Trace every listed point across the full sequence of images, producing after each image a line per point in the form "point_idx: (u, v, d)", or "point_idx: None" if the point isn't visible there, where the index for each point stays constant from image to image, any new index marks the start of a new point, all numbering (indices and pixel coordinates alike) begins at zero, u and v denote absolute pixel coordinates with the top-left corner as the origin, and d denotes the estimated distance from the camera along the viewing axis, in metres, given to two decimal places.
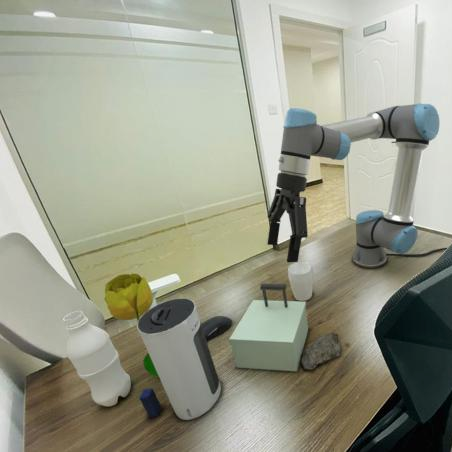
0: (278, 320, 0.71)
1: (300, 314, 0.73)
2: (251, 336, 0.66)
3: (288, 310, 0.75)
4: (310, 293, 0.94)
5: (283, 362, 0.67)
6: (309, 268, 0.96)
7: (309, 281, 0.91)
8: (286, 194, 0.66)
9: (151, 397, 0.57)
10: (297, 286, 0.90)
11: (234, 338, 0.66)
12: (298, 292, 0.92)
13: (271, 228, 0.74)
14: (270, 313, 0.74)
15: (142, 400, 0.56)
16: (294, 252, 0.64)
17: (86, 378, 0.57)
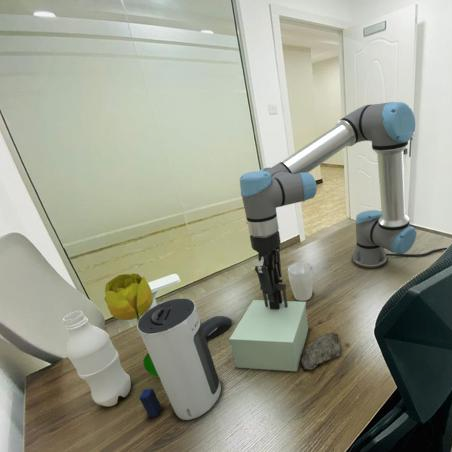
0: (278, 320, 0.71)
1: (300, 314, 0.73)
2: (251, 336, 0.66)
3: (288, 310, 0.75)
4: (310, 293, 0.94)
5: (283, 362, 0.67)
6: (309, 268, 0.96)
7: (309, 281, 0.91)
8: None
9: (151, 397, 0.57)
10: (297, 286, 0.90)
11: (234, 338, 0.66)
12: (298, 292, 0.92)
13: None
14: (270, 313, 0.74)
15: (142, 400, 0.56)
16: (273, 302, 0.74)
17: (86, 378, 0.57)
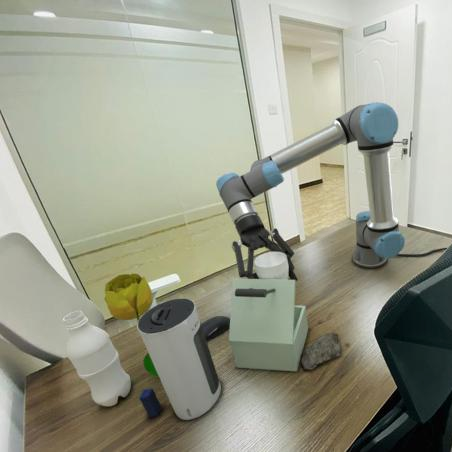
0: (270, 312, 0.65)
1: (292, 302, 0.65)
2: (249, 336, 0.65)
3: (277, 295, 0.66)
4: None
5: (283, 362, 0.67)
6: (284, 260, 0.75)
7: (282, 276, 0.70)
8: None
9: (151, 397, 0.57)
10: None
11: (234, 340, 0.65)
12: None
13: None
14: (259, 301, 0.66)
15: (142, 400, 0.56)
16: None
17: (86, 378, 0.57)
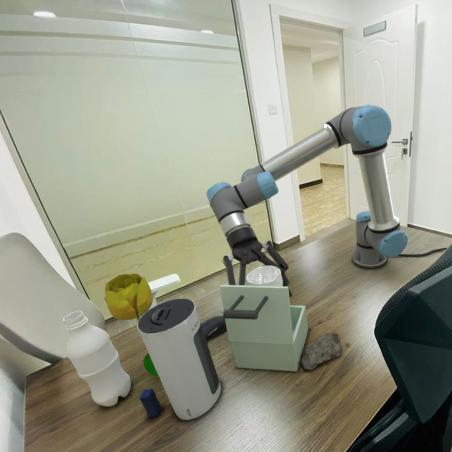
0: (266, 318, 0.62)
1: (287, 309, 0.61)
2: (248, 338, 0.65)
3: (270, 302, 0.61)
4: None
5: (283, 362, 0.67)
6: (278, 274, 0.71)
7: None
8: None
9: (151, 397, 0.57)
10: None
11: (234, 341, 0.65)
12: None
13: None
14: (252, 308, 0.62)
15: (142, 400, 0.56)
16: None
17: (86, 378, 0.57)
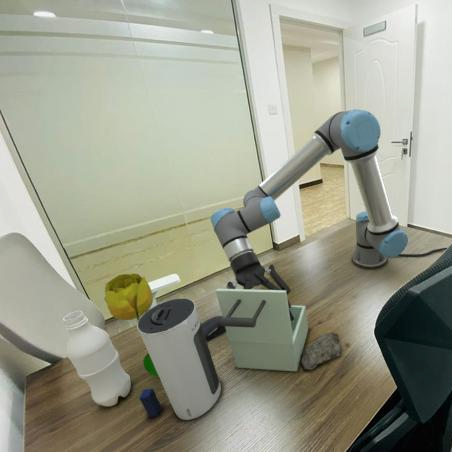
0: (265, 320, 0.62)
1: (286, 312, 0.60)
2: (248, 338, 0.64)
3: (269, 306, 0.60)
4: None
5: (283, 362, 0.67)
6: None
7: None
8: None
9: (151, 397, 0.57)
10: None
11: (234, 341, 0.65)
12: None
13: None
14: (250, 311, 0.61)
15: (142, 400, 0.56)
16: None
17: (86, 378, 0.57)
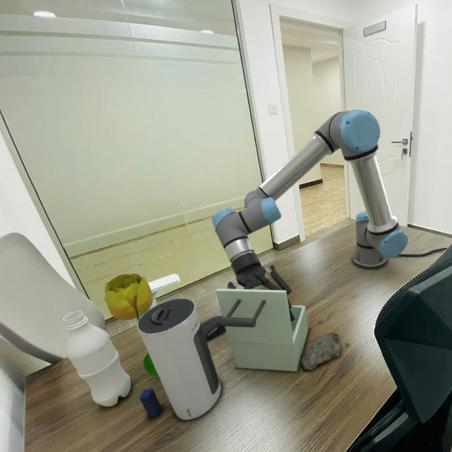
0: (265, 320, 0.62)
1: (286, 312, 0.60)
2: (248, 338, 0.64)
3: (269, 306, 0.60)
4: None
5: (283, 362, 0.67)
6: None
7: None
8: None
9: (151, 397, 0.57)
10: None
11: (234, 341, 0.65)
12: None
13: None
14: (250, 311, 0.61)
15: (142, 400, 0.56)
16: None
17: (86, 378, 0.57)
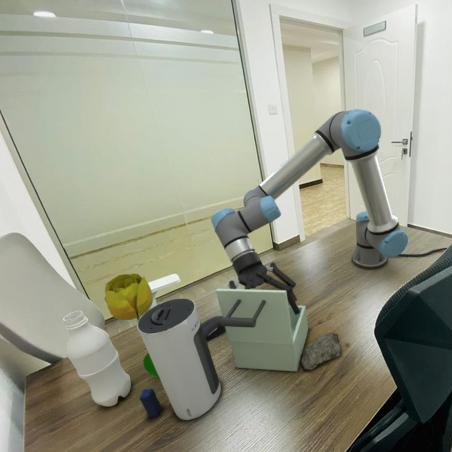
0: (265, 320, 0.62)
1: (286, 312, 0.60)
2: (248, 338, 0.64)
3: (269, 306, 0.60)
4: None
5: (283, 362, 0.67)
6: None
7: None
8: None
9: (151, 397, 0.57)
10: None
11: (234, 341, 0.65)
12: None
13: None
14: (250, 311, 0.61)
15: (142, 400, 0.56)
16: None
17: (86, 378, 0.57)
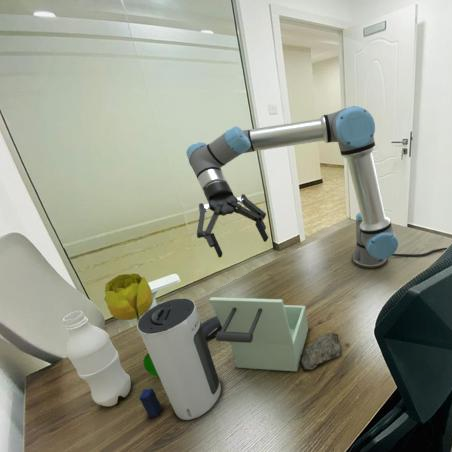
0: (263, 325, 0.60)
1: (284, 319, 0.58)
2: None
3: (265, 313, 0.58)
4: None
5: (283, 362, 0.67)
6: None
7: None
8: None
9: (151, 397, 0.57)
10: None
11: None
12: None
13: (257, 228, 0.80)
14: (247, 317, 0.59)
15: (142, 400, 0.56)
16: (215, 247, 0.71)
17: (86, 378, 0.57)
